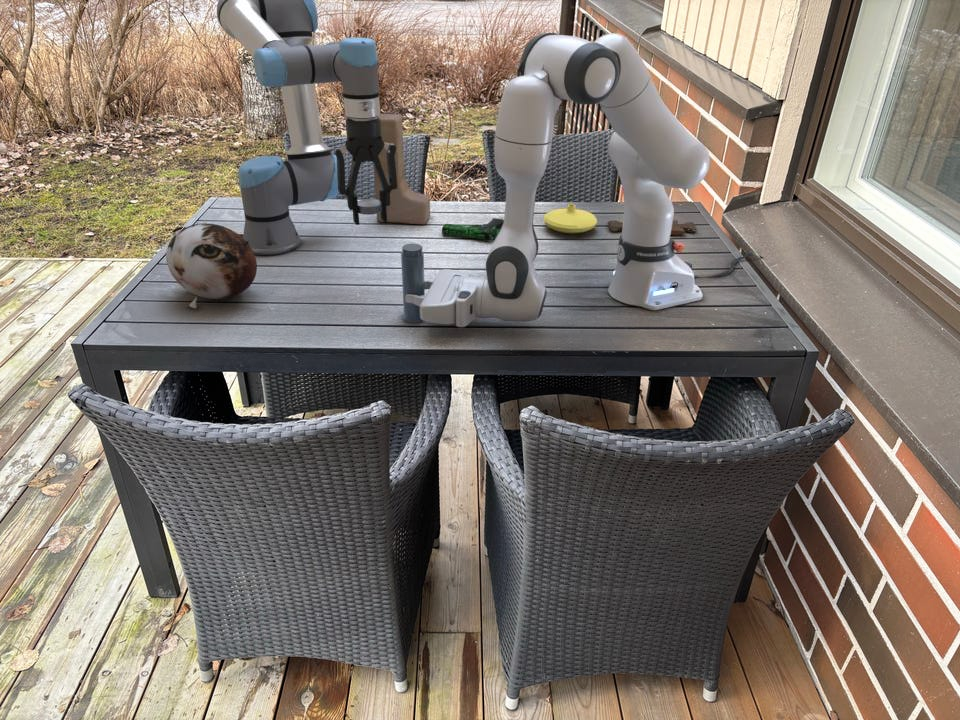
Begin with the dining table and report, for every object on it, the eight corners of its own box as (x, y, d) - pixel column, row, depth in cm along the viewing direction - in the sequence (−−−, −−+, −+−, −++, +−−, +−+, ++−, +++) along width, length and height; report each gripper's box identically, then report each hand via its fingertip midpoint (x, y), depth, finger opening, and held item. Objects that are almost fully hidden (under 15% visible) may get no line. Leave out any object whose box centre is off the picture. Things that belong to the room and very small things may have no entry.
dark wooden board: (699, 237, 207) (691, 225, 216) (700, 231, 206) (692, 220, 215) (610, 234, 207) (606, 222, 216) (611, 228, 207) (607, 217, 215)
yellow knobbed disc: (559, 216, 220) (561, 193, 217) (605, 227, 212) (608, 204, 209) (532, 230, 209) (533, 207, 206) (580, 242, 201) (582, 218, 198)
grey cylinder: (405, 323, 159) (401, 252, 150) (402, 313, 163) (399, 243, 154) (426, 321, 160) (424, 250, 151) (423, 312, 164) (421, 242, 155)
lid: (387, 211, 163) (387, 203, 162) (365, 216, 160) (365, 208, 159) (373, 204, 167) (372, 197, 166) (351, 210, 164) (350, 202, 163)
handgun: (511, 219, 210) (493, 234, 198) (511, 228, 211) (492, 244, 199) (461, 212, 215) (440, 226, 203) (461, 221, 217) (440, 236, 204)
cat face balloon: (130, 285, 161) (164, 203, 163) (192, 308, 177) (221, 233, 178) (195, 307, 151) (229, 220, 152) (254, 330, 166) (285, 250, 168)
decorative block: (425, 225, 212) (423, 121, 196) (376, 222, 213) (369, 118, 198) (430, 216, 218) (428, 115, 203) (382, 213, 220) (376, 113, 204)
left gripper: (322, 124, 147) (333, 231, 159) (410, 117, 153) (414, 221, 165) (315, 116, 153) (326, 220, 165) (400, 111, 159) (405, 211, 171)
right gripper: (479, 265, 163) (421, 260, 165) (462, 304, 146) (396, 298, 148) (479, 290, 166) (421, 285, 168) (462, 331, 149) (397, 324, 151)
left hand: (370, 221), depth 165 cm, fingers closed on lid, 6 cm apart
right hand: (409, 291), depth 158 cm, fingers closed on grey cylinder, 5 cm apart
